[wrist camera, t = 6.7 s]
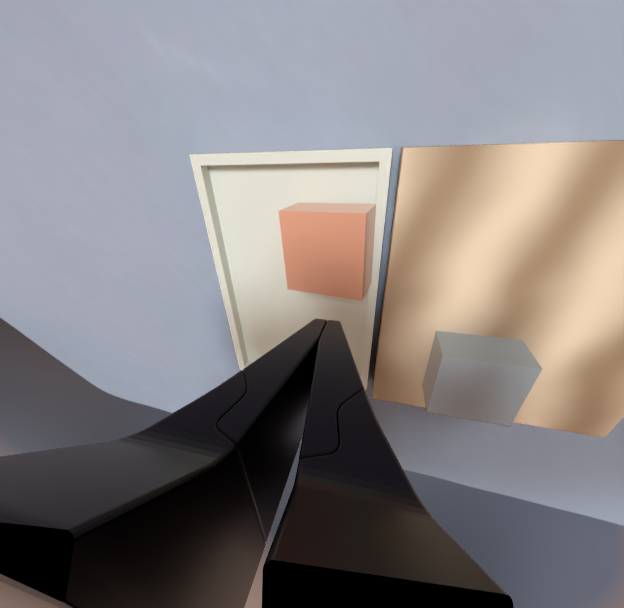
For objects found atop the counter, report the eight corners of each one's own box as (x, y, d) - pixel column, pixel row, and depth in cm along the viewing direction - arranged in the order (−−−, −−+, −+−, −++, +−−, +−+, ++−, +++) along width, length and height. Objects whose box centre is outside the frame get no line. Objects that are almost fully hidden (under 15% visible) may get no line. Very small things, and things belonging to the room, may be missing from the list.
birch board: (802, 134, 11) (875, 132, 9) (587, 413, 20) (605, 437, 19) (401, 147, 15) (403, 147, 13) (373, 380, 24) (372, 398, 22)
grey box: (522, 340, 16) (542, 368, 14) (496, 395, 19) (510, 426, 17) (435, 330, 17) (442, 356, 15) (422, 384, 20) (426, 412, 18)
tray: (392, 147, 15) (392, 148, 14) (367, 379, 24) (366, 390, 23) (200, 154, 17) (189, 154, 16) (245, 361, 26) (239, 369, 25)
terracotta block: (376, 203, 15) (366, 213, 13) (371, 282, 18) (362, 300, 16) (297, 202, 17) (278, 210, 15) (303, 274, 20) (287, 289, 18)
